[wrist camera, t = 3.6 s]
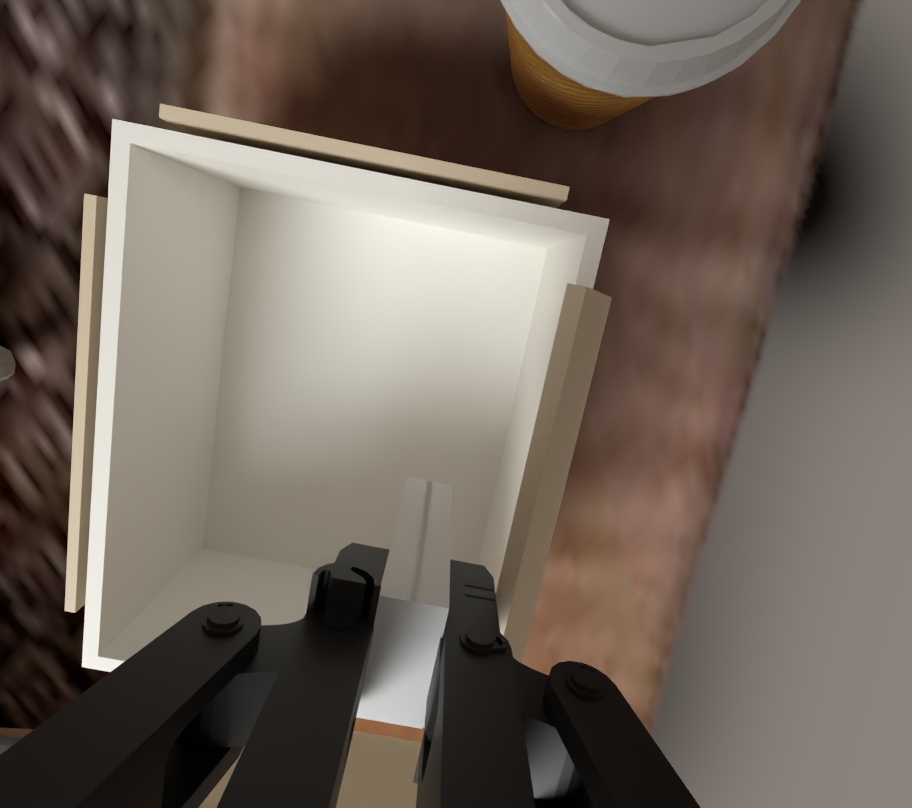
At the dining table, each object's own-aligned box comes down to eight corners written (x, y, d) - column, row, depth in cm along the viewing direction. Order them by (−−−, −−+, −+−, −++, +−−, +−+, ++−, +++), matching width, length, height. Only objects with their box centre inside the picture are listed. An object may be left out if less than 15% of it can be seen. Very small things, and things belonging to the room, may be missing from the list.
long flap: (567, 282, 12) (586, 286, 12) (599, 295, 18) (611, 297, 18) (433, 865, 15) (447, 873, 15) (501, 698, 21) (511, 702, 21)
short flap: (-28, 798, 15) (-32, 813, 15) (451, 879, 15) (448, 893, 15) (109, 688, 22) (107, 698, 22) (446, 747, 22) (445, 757, 22)
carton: (220, 155, 27) (89, 89, 18) (563, 224, 27) (616, 196, 18) (183, 549, 31) (62, 665, 22) (478, 603, 32) (485, 739, 22)
